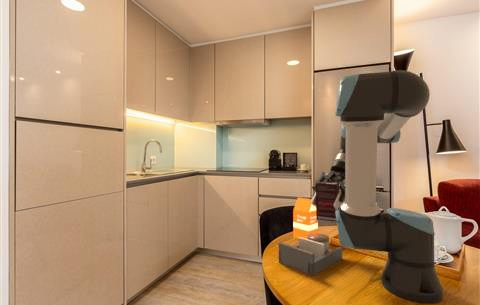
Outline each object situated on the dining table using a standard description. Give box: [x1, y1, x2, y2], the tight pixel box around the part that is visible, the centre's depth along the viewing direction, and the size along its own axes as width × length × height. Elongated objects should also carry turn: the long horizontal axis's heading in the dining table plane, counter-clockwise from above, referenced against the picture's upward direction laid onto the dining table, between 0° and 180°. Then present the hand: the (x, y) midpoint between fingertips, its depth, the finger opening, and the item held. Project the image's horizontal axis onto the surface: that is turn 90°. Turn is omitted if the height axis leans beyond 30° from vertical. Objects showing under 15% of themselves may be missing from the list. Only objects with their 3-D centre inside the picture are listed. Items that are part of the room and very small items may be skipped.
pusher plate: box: [297, 237, 325, 259], centre depth 92 cm, size 10×1×7 cm, turn 41°
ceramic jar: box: [307, 232, 330, 253], centre depth 95 cm, size 8×8×8 cm
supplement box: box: [315, 182, 340, 225], centre depth 101 cm, size 9×5×16 cm, turn 57°
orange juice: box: [292, 197, 319, 240], centre depth 118 cm, size 8×9×20 cm
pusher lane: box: [278, 242, 343, 277], centre depth 92 cm, size 14×21×8 cm, turn 131°
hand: (323, 205), depth 99 cm, fingers closed on supplement box, 9 cm apart
